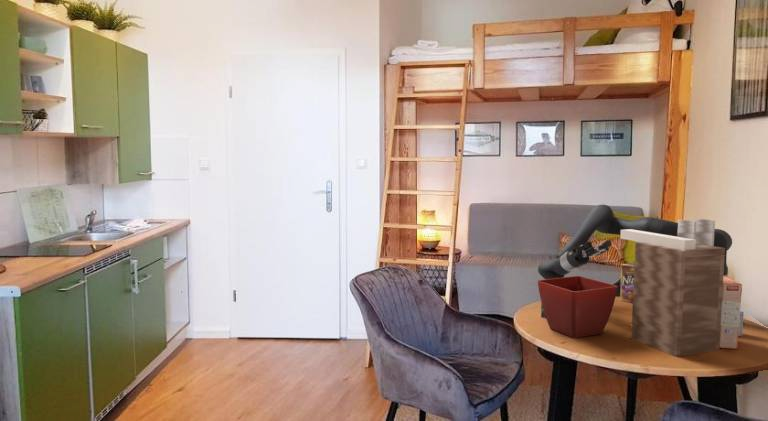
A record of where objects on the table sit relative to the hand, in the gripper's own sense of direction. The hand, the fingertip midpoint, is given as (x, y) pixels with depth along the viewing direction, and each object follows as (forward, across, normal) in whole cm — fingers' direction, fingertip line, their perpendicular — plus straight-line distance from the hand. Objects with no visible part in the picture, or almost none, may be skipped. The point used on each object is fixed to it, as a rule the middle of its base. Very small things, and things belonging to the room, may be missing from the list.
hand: (600, 243), depth 209 cm
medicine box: (+10, +31, +39) cm, 50 cm away
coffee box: (-23, -13, +20) cm, 33 cm away
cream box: (+23, 0, +10) cm, 25 cm away
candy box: (-29, +32, +16) cm, 46 cm away
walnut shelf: (+12, +4, +40) cm, 42 cm away
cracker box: (+14, +20, +42) cm, 48 cm away
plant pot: (-8, -16, +29) cm, 34 cm away
